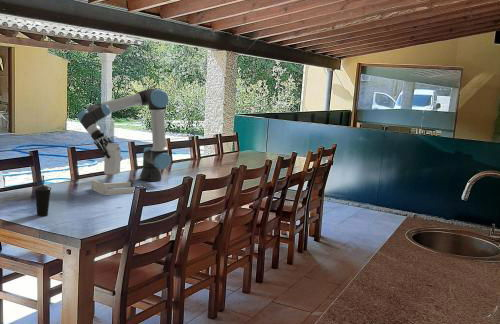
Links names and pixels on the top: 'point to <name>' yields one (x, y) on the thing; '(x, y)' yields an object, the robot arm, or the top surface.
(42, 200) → the drinking cup
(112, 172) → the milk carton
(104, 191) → the bay
